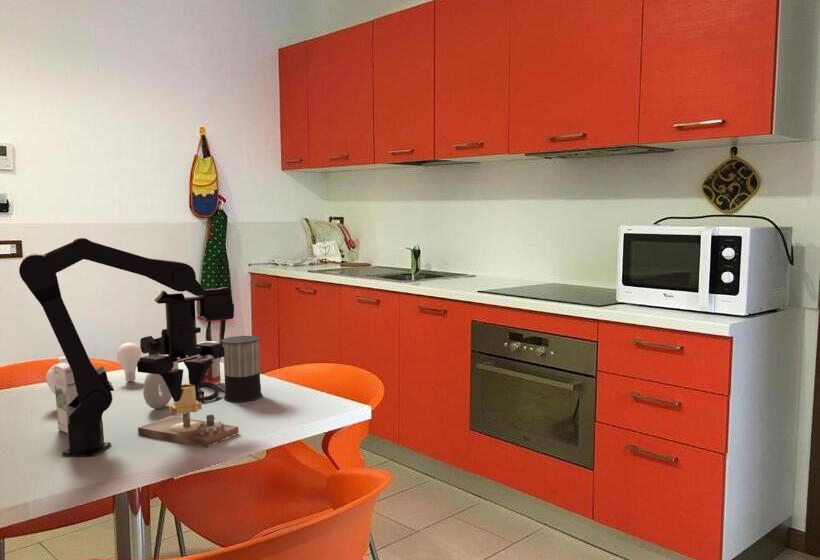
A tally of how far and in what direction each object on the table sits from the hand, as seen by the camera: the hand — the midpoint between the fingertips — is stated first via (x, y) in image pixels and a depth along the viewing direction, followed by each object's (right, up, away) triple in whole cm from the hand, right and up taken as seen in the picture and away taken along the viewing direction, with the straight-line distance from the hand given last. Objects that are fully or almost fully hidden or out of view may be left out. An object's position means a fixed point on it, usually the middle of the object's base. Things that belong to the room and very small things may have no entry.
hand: (184, 398), depth 141 cm
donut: (-13, -6, +20) cm, 25 cm away
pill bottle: (-8, -4, +43) cm, 44 cm away
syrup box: (-25, -8, +5) cm, 26 cm away
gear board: (0, -8, +1) cm, 8 cm away
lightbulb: (-30, -4, +47) cm, 56 cm away
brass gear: (0, -2, 0) cm, 2 cm away
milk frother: (+1, -5, +28) cm, 29 cm away
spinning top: (-36, -6, +24) cm, 44 cm away
